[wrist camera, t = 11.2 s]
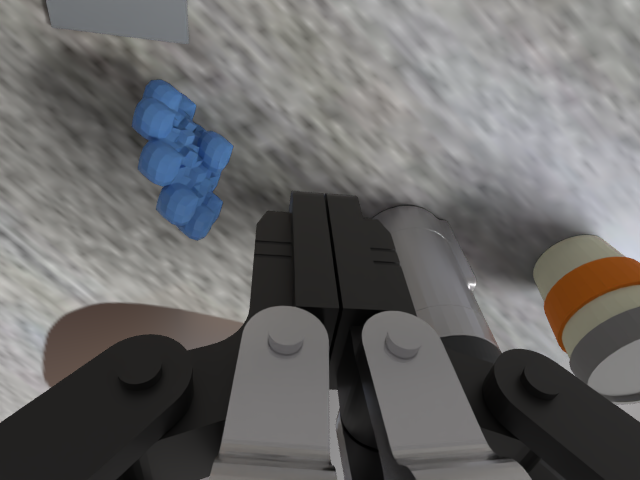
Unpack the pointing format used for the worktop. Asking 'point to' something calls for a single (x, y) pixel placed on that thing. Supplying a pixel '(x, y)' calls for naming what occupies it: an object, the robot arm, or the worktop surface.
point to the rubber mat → (123, 18)
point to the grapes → (180, 158)
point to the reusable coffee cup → (594, 313)
